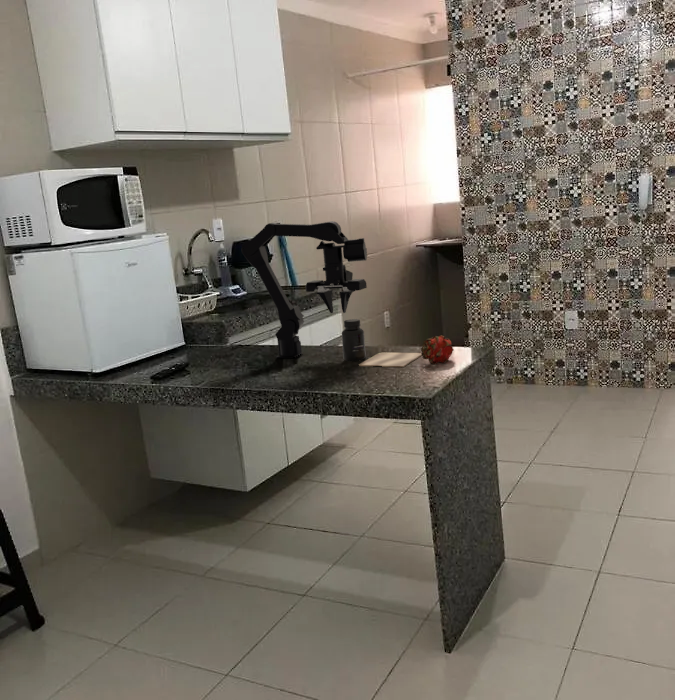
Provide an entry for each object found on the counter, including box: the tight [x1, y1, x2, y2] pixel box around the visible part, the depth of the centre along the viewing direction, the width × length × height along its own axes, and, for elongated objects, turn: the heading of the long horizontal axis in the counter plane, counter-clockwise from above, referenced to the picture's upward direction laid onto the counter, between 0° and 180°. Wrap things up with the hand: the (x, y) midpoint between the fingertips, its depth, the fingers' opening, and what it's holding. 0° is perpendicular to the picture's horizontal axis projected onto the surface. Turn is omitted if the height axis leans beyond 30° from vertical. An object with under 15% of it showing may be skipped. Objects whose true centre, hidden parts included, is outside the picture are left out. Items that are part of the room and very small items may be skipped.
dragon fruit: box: [420, 334, 454, 365], centre depth 211 cm, size 8×8×12 cm
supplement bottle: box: [341, 318, 367, 362], centre depth 224 cm, size 7×7×12 cm
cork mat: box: [358, 351, 423, 368], centre depth 220 cm, size 14×16×1 cm
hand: (338, 312), depth 233 cm, fingers open, 4 cm apart
